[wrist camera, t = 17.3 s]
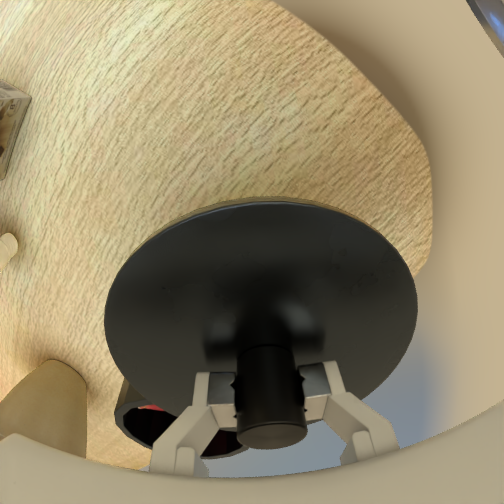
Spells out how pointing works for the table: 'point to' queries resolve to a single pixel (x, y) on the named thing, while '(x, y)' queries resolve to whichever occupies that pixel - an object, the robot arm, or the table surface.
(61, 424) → the plant pot
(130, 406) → the bin
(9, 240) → the lightbulb
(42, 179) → the table surface
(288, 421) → the bin lid
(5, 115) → the coffee box
